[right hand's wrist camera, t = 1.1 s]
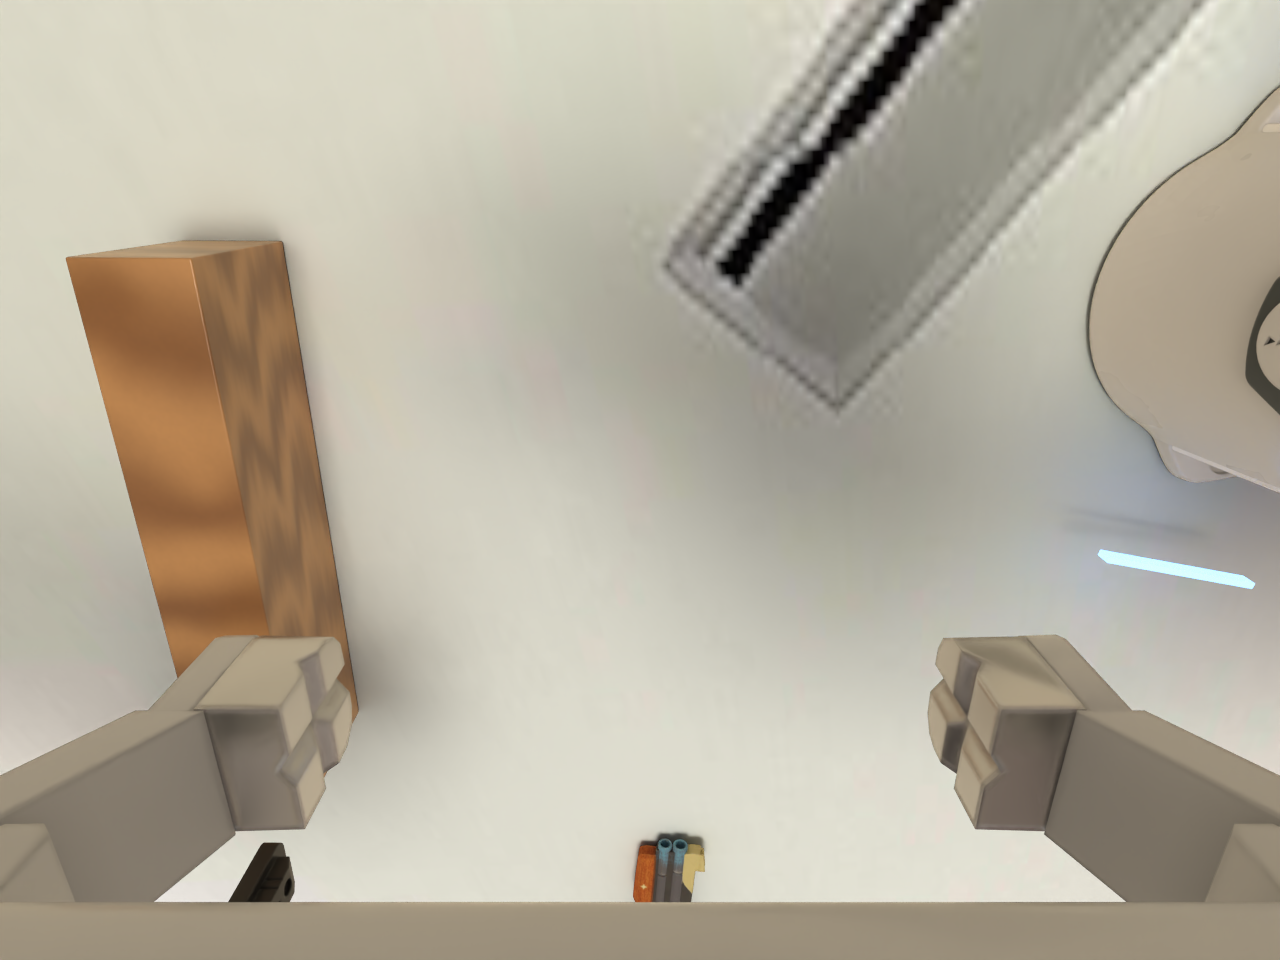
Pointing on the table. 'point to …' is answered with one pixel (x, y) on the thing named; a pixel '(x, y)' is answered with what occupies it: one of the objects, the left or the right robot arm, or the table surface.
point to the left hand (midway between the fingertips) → (176, 856)
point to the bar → (214, 439)
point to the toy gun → (667, 871)
